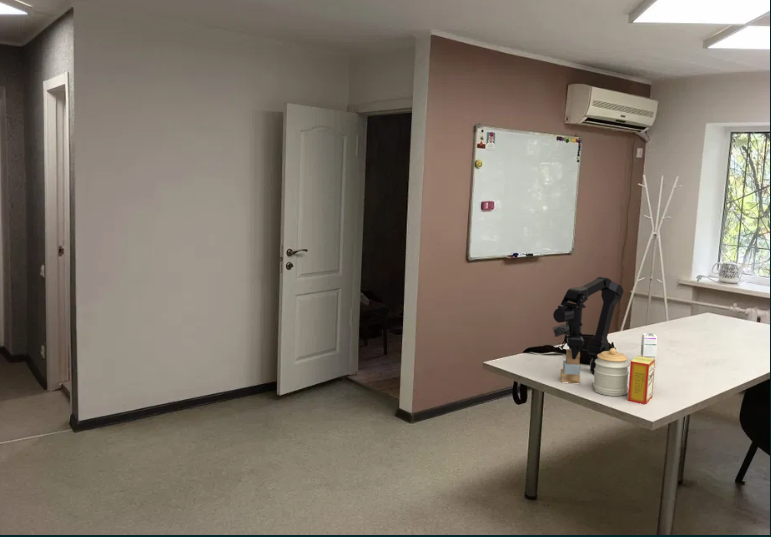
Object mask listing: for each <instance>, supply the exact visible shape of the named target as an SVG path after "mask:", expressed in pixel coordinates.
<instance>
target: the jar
mask: <svg viewBox="0 0 771 537" xmlns="http://www.w3.org/2000/svg"><path fill="white" fill-rule="evenodd" d="M597 357H598V358H597V359H596V360H595V363H596V367H595V368H594V370H595V372H594V374H593V383H592V384H593V385H592V387H593V391H594V392H596V393H597V392H598V394H601V395H604V396H608V397H622V396H625V395H627V394H628V391H629V375H630V371H628V370H629V368H630V363H629V362H628V361H627V360H628V357H627V356H626V355H625V354H624V353H622V352H618V351H617V350H616V348H614V347H612V348H610V349H609V351H604V352H601V353H600V354H598V355H597Z"/></svg>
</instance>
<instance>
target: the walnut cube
mask: <svg viewBox="0 0 771 537" xmlns="http://www.w3.org/2000/svg"><path fill="white" fill-rule="evenodd" d="M580 351H581V350H580ZM580 351H579V353H578V355H577V357H576V359H572V353H571V349H569V348H567V349H566V356H565V361H566V363H567V364H574V365H579V364H580V358H581V352H580Z"/></svg>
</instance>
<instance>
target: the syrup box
mask: <svg viewBox="0 0 771 537" xmlns="http://www.w3.org/2000/svg"><path fill="white" fill-rule="evenodd" d="M640 343H641V345H640V356H643V357H648V358H654V359H655V368H656V365H657V363H656V362H657V349H658V348H657V347H658V336H657V335H656V334H655V333H650V332H643V333H641V342H640Z"/></svg>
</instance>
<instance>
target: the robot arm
mask: <svg viewBox="0 0 771 537" xmlns="http://www.w3.org/2000/svg"><path fill="white" fill-rule="evenodd" d="M597 292H601V293H600V294H601V299H602V307H601V310H600V314H599V319H598V322H597V326H596V329H595V334H594V335H593V336H592V337H589V338H588V342H587V346H586V351H587V356H588V358H591V360H590V363H589V371H590V372H591V374H592V375H594V372H595V370H594V368H595V367H596V363H595V360H596V359H597V358H598V357H597V355H598V354H600V353H601V352H604V351H609V350H610V349H609V348H610V343H609V340H608V335H609V330H610V326H611V323H612V319H613V315H614V312H615V311H614V310H615V307H616V305H617V304H618V303H619V302H620V301H621V299H622V297H623V295H624V288H623V286H622V285H620V284H619V283H616V281H615V282H614V281H612V280H611V278H609V277H605V276H598V277H596V279H593V280H592V281H590V282H588V283H586V284H584V285H583V286H578V287H577V286H576V287H571V288H568V289H567V291H566V293H565V294H564V297H563V299H562V300H561V302H560V305H557V308H555V310H554V311H553V319H554V321H555V322H557V323H558V324H559V323H560V325H556V326H553V327H552V331H553V334H554V337H560V336H562V335H564V338H565V339H566V344H567V346H568V349H571V353H572V359H576V357H577V355H578V353H579V351H581V349H582V347H584V344H585V340H584V338H583V337H582V327H583V322H582V321H583V309H585V308H586V305H585V304H584V303H586V302H587V301H588V300H589V297H590V296H592V295H594V294H595V293H597ZM561 323H563V324H561Z"/></svg>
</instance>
